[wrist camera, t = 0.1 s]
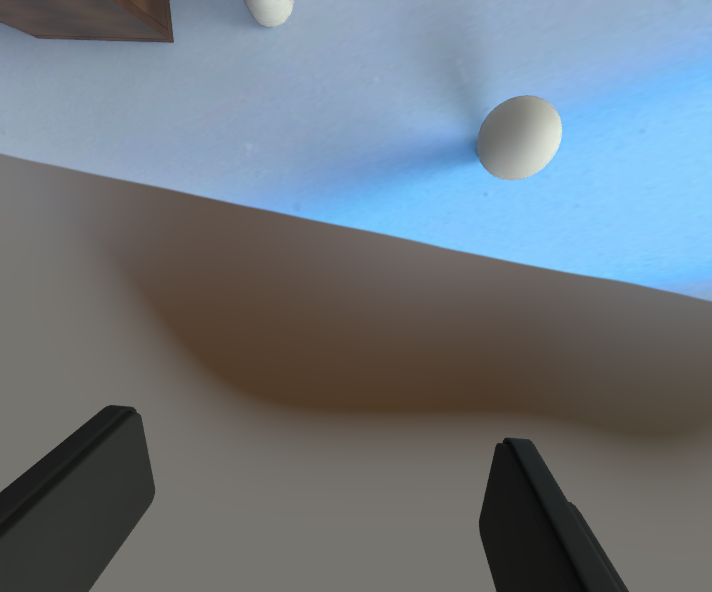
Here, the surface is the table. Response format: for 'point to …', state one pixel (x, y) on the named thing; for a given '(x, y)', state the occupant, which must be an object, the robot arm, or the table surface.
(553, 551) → the robot arm
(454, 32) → the table surface
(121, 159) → the table surface
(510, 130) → the lightbulb
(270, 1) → the rook chess piece
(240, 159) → the table surface
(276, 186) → the table surface
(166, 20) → the cabinet
